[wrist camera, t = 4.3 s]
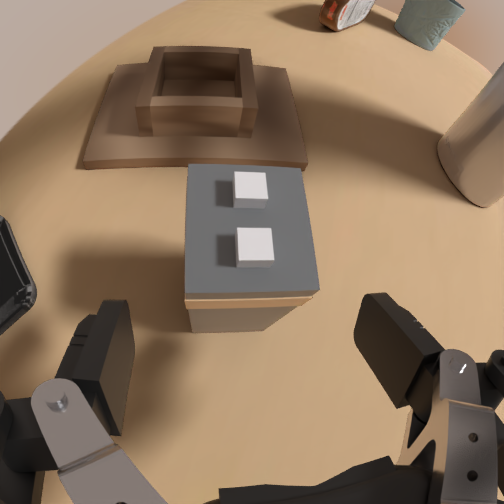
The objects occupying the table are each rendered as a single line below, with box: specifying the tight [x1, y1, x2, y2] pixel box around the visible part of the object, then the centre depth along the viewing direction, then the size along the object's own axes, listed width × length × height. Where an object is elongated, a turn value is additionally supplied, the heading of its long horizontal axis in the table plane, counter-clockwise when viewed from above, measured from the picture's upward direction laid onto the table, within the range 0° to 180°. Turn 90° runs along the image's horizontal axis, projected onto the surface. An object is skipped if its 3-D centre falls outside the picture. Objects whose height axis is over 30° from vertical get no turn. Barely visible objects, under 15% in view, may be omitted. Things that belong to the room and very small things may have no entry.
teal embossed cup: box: [394, 0, 465, 51], centre depth 35 cm, size 10×10×12 cm
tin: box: [319, 0, 376, 32], centre depth 32 cm, size 15×3×8 cm, turn 142°
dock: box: [83, 46, 308, 171], centre depth 21 cm, size 16×12×4 cm
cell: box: [185, 164, 320, 333], centre depth 14 cm, size 4×5×10 cm
